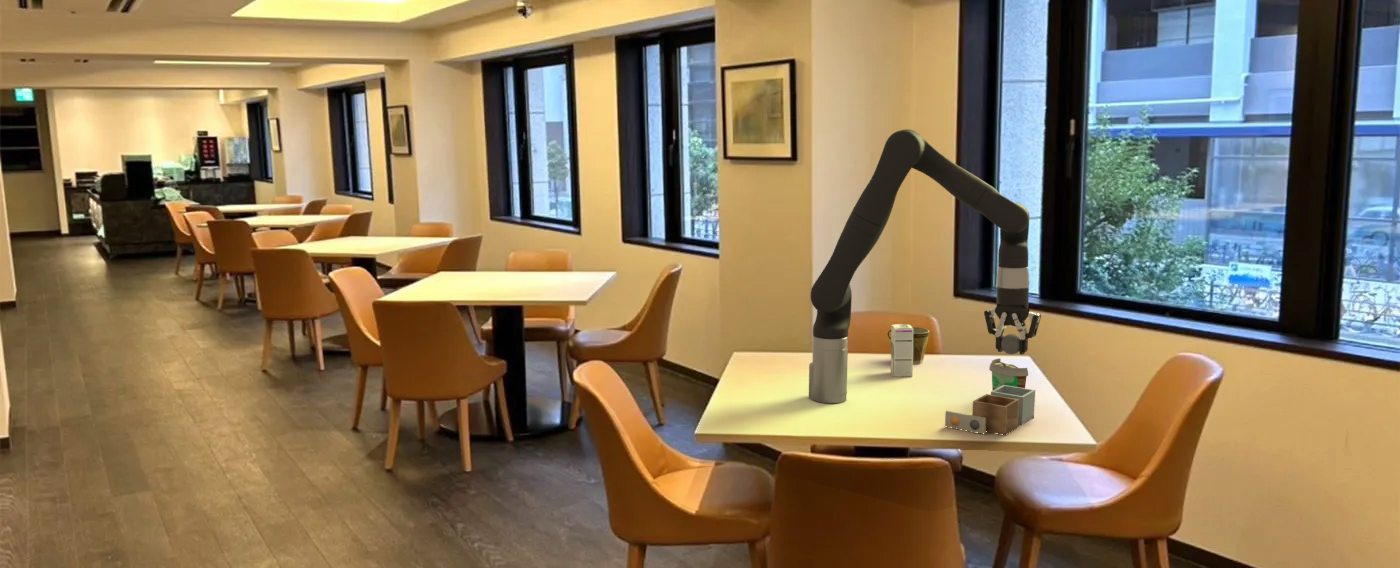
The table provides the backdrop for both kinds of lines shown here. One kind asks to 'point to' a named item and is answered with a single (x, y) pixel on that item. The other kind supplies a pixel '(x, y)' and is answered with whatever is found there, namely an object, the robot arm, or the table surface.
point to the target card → (965, 422)
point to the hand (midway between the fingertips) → (1011, 352)
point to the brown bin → (997, 413)
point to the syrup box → (902, 350)
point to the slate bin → (1024, 397)
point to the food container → (1007, 375)
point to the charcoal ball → (1011, 344)
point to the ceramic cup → (918, 343)
